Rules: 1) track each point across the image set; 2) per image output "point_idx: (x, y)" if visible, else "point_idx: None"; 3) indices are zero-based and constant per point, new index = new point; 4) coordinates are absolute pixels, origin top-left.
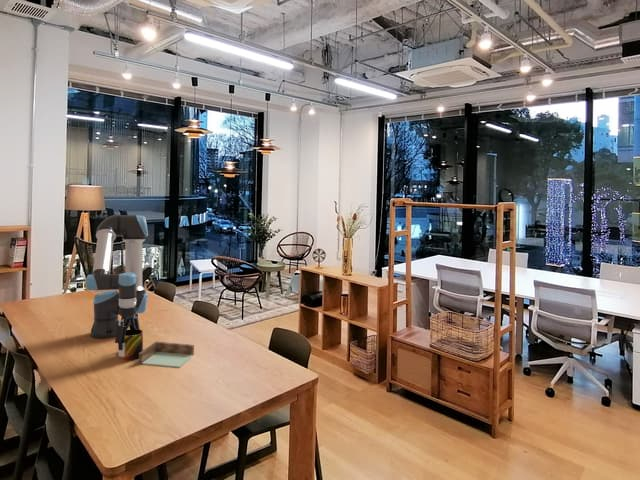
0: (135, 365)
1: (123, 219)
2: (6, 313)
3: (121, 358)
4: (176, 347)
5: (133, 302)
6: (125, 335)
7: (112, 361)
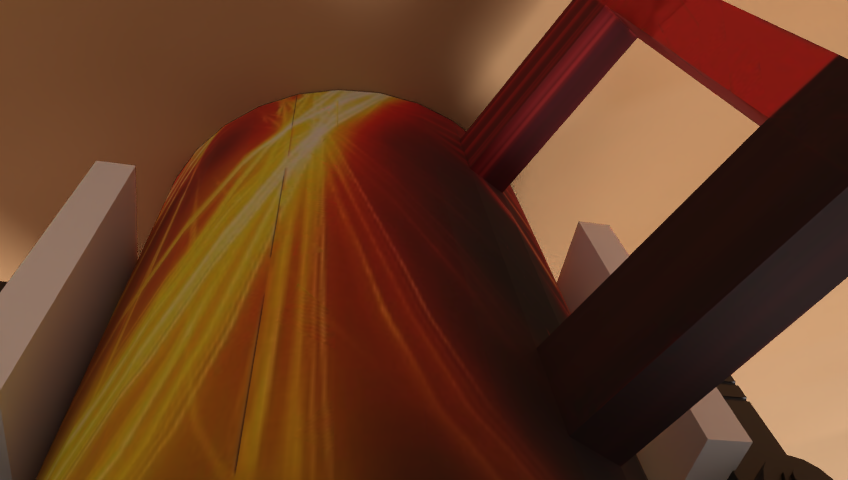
0: None
1: None
2: None
3: (200, 152)
4: None
5: None
6: (542, 424)
7: (58, 11)
